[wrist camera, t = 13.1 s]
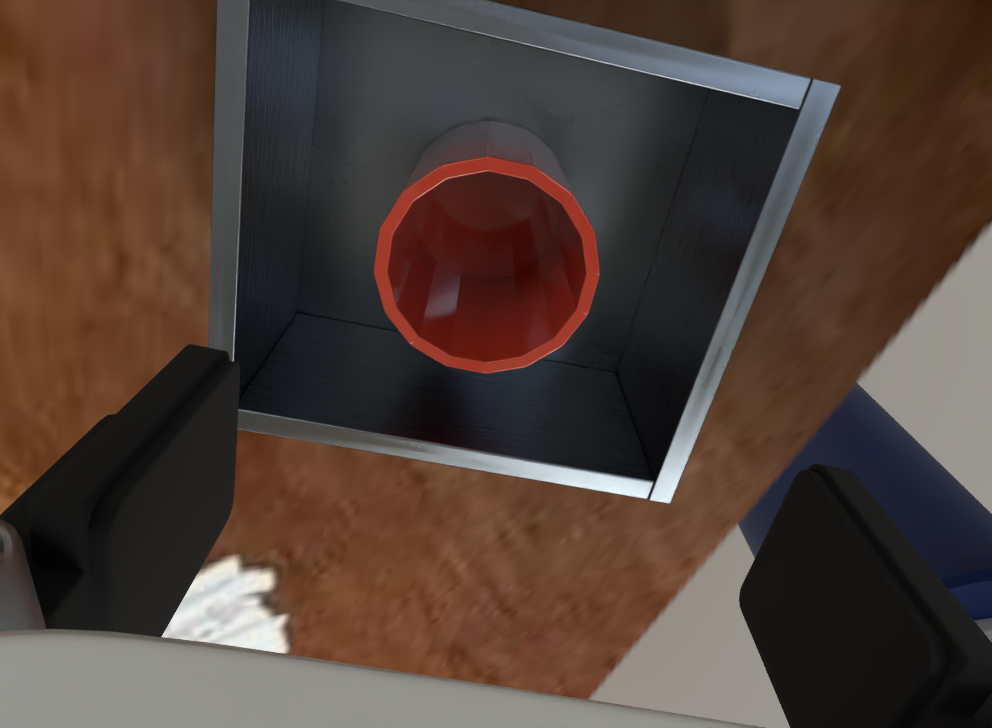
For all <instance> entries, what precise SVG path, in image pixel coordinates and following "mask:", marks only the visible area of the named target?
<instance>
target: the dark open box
mask: <svg viewBox="0 0 992 728" xmlns="http://www.w3.org/2000/svg"><path fill="white" fill-rule="evenodd" d="M840 88H841V85H840V84H836V83H832V82H828V81H824V80H819V79H815V78H810V77H807V76H803V75H799V74H795V73H790V72H786V71H782V70H778V69H774V68H770V67H766V66H762V65H757V64H753V63H749V62H745V61H741V60H737V59H733V58H728V57H724V56H720V55H716V54H712V53H708V52H704V51H700V50H695V49H691V48H687V47H683V46H679V45H675V44H671V43H667V42H662V41H658V40H654V39H650V38H646V37H642V36H638V35H634V34H629V33H625V32H621V31H617V30H613V29H609V28H605V27H601V26H596V25H592V24H588V23H584V22H580V21H576V20H572V19H568V18H563V17H559V16H555V15H551V14H547V13H543V12H539V11H535V10H530V9H526V8H522V7H518V6H514V5H510V4H506V3H502V2H497V1H493V0H217V23H216V63H215V103H214V143H213V182H212V222H211V262H210V302H209V342H208V348H213V349H218V350H223V351H227V352H228V354H229V357H230V361H233V362H238V363H239V365H240V388H239V407H238V426H237V429H240V430H245V431H251V432H257V433H263V434H269V435H275V436H280V437H286V438H292V439H298V440H304V441H310V442H315V443H321V444H327V445H333V446H339V447H345V448H350V449H356V450H362V451H368V452H374V453H380V454H385V455H391V456H397V457H403V458H409V459H415V460H420V461H426V462H432V463H438V464H444V465H450V466H455V467H461V468H467V469H473V470H479V471H485V472H490V473H496V474H502V475H508V476H514V477H520V478H525V479H531V480H537V481H543V482H549V483H555V484H560V485H566V486H572V487H578V488H584V489H590V490H595V491H601V492H607V493H613V494H619V495H625V496H630V497H636V498H642V499H649V500H651V501H657V502H663V503H669V504H670V503H671V501H672V498H673V496H674V493H675V491H676V489H677V486H678V484H679V481H680V479H681V476H682V474H683V472H684V469H685V467H686V464H687V462H688V459H689V457H690V454H691V452H692V450H693V447H694V445H695V442H696V440H697V437H698V435H699V432H700V430H701V428H702V425H703V423H704V420H705V418H706V415H707V413H708V410H709V408H710V406H711V403H712V401H713V398H714V396H715V393H716V391H717V389H718V386H719V384H720V381H721V379H722V376H723V374H724V371H725V369H726V367H727V364H728V362H729V359H730V357H731V354H732V352H733V349H734V347H735V345H736V342H737V340H738V337H739V335H740V332H741V330H742V327H743V325H744V323H745V320H746V318H747V315H748V313H749V310H750V308H751V306H752V303H753V301H754V298H755V296H756V293H757V291H758V288H759V286H760V284H761V281H762V279H763V276H764V274H765V271H766V269H767V266H768V264H769V262H770V259H771V257H772V254H773V252H774V249H775V247H776V244H777V242H778V240H779V237H780V235H781V232H782V230H783V227H784V225H785V222H786V220H787V218H788V215H789V213H790V210H791V208H792V205H793V203H794V201H795V198H796V196H797V193H798V191H799V188H800V186H801V183H802V181H803V179H804V176H805V174H806V171H807V169H808V166H809V164H810V161H811V159H812V157H813V154H814V152H815V149H816V147H817V144H818V142H819V139H820V137H821V135H822V132H823V130H824V127H825V125H826V122H827V120H828V118H829V115H830V113H831V110H832V108H833V105H834V103H835V100H836V98H837V96H838V93H839V91H840ZM480 121H496V122H503V123H508V124H511V125H514V126H517V127H519V128H522V129H524V130H526V131H528V132H529V133H531V134H533V135H534V136H536V137H537V138H538V139H539V140H541V141H542V142H543V143H544V144H545V145H546V146H547V147H549V148H550V149H551V150H552V152H553V153H554V155H555V157H556V159H557V160H558V162H559V163H560V165H561V167H562V169H563V170H564V172H565V174H566V175H567V177H568V179H569V181H570V183H571V185H572V187H573V189H574V191H575V193H576V195H577V197H578V199H579V201H580V203H581V205H582V207H583V209H584V211H585V213H586V215H587V216H588V218H589V220H590V222H591V224H592V226H593V228H594V231H595V234H596V242H597V250H598V259H599V267H600V277H599V280H598V284H597V287H596V290H595V294H594V297H593V301H592V304H591V307H590V311H589V313H588V315H587V317H586V318H585V319H584V320H583V322H582V323H581V324H580V325H579V327H578V328H577V329H576V330H575V331H574V333H573V334H572V335H571V336H570V338H569V339H568V340H567V341H566V343H565V344H564V345H563V346H562V347H560V348H559V349H557V350H555V351H554V352H552V353H550V354H548V355H547V356H545V357H543V358H541V359H540V360H538V361H536V362H534V363H533V364H531V365H529V366H526V367H523V368H517V369H511V370H505V371H499V372H493V373H480V372H475V371H469V370H464V369H458V368H453V367H448V366H445V365H443V364H441V363H440V362H438V361H436V360H435V359H433V358H431V357H430V356H428V355H426V354H425V353H423V352H421V351H420V350H418V349H416V348H415V347H413V346H411V344H409V343H408V341H407V340H406V339H405V338H404V336H403V335H402V334H401V332H400V331H399V330H398V329H397V327H396V326H395V325H394V323H393V322H392V321H391V320H390V318H389V317H388V316H387V314H386V313H385V311H384V308H383V305H382V301H381V297H380V294H379V290H378V287H377V283H376V279H375V276H374V263H375V256H376V248H377V241H378V234H379V230H380V227H381V225H382V223H383V221H384V219H385V218H386V216H387V214H388V212H389V210H390V209H391V207H392V205H393V203H394V201H395V200H396V198H397V196H398V194H399V192H400V190H401V189H402V187H403V185H404V183H405V181H406V180H407V178H408V176H409V174H410V173H411V171H412V170H413V168H414V166H415V165H416V163H417V161H418V160H419V158H420V157H421V155H422V153H423V152H424V150H425V149H426V148H427V147H428V146H429V145H431V144H432V143H433V142H434V141H435V140H436V139H438V138H439V137H440V136H441V135H443V134H445V133H446V132H448V131H450V130H452V129H454V128H456V127H459V126H461V125H465V124H468V123H472V122H480Z"/></svg>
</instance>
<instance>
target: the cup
mask: <svg viewBox="0 0 992 728" xmlns="http://www.w3.org/2000/svg"><path fill="white" fill-rule="evenodd" d="M374 276H375V279H376V283H377V287H378V290H379V294H380V297H381V301H382V305H383V308H384V311H385V313H386V314H387V316H388V317H389V318H390V320H391V321H392V322H393V323H394V325H395V326H396V327H397V329H398V330H399V331H400V332H401V334H402V335H403V336H404V338H405V339H406V340H407V341H408V343H409V344H411V346H413V347H415V348H416V349H418V350H420V351H421V352H423V353H425V354H426V355H428V356H430V357H431V358H433V359H435V360H436V361H438V362H440V363H441V364H443V365H445V366H448V367H453V368H458V369H464V370H469V371H475V372H480V373H493V372H499V371H505V370H511V369H517V368H523V367H526V366H529V365H531V364H533V363H534V362H536V361H538V360H540V359H541V358H543V357H545V356H547V355H548V354H550V353H552V352H554V351H555V350H557V349H559V348H560V347H562V346H563V345H564V344H565V343H566V341H567V340H568V339H569V338H570V336H571V335H572V334H573V333H574V331H575V330H576V329H577V328H578V327H579V325H580V324H581V323H582V322H583V320H584V319H585V318H586V317H587V315H588V313H589V311H590V307H591V304H592V301H593V297H594V294H595V290H596V287H597V284H598V280H599V277H600V267H599V259H598V250H597V242H596V234H595V231H594V228H593V226H592V224H591V222H590V220H589V218H588V216H587V215H586V213H585V211H584V209H583V207H582V205H581V203H580V201H579V199H578V197H577V195H576V193H575V191H574V189H573V187H572V185H571V183H570V181H569V179H568V177H567V175H566V174H565V172H564V170H563V169H562V167H561V165H560V163H559V162H558V160H557V159H556V157H555V155H554V153H553V152H552V150H551V149H550V148H549V147H547V146H546V145H545V144H544V143H543V142H542V141H541V140H539V139H538V138H537V137H536V136H534V135H533V134H531V133H529V132H528V131H526V130H524V129H522V128H519V127H517V126H514V125H511V124H508V123H503V122H496V121H480V122H472V123H468V124H465V125H461V126H459V127H456V128H454V129H452V130H450V131H448V132H446V133H445V134H443V135H441V136H440V137H439V138H438V139H436V140H435V141H434V142H433V143H432V144H431V145H429V146H428V147H427V148H426V149H425V150H424V152H423V153H422V155H421V157H420V158H419V160H418V161H417V163H416V165H415V166H414V168H413V170H412V171H411V173H410V174H409V176H408V178H407V180H406V181H405V183H404V185H403V187H402V189H401V190H400V192H399V194H398V196H397V198H396V200H395V201H394V203H393V205H392V207H391V209H390V210H389V212H388V214H387V216H386V218H385V219H384V221H383V223H382V225H381V227H380V230H379V234H378V241H377V248H376V256H375V263H374Z"/></svg>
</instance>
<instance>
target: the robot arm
mask: <svg viewBox="0 0 992 728" xmlns="http://www.w3.org/2000/svg"><path fill="white" fill-rule="evenodd" d="M239 388H240V365H239V363H238V362H233V361H230V357H229V354H228V352H227V351H223V350H218V349H213V348H207V347H202V346H197V345H191V344H189V345H188V346H186V347H185V348H184V349H183V350H182V351H181V352H180V353H179V354H178V355H177V356H176V357H175V358H174V359H172V360H171V361H170V362H169V363H168V364H167V365H166V366H165V367H164V368H163V369H162V370H161V371H160V372H159V373H158V374H157V375H156V376H155V377H154V378H153V379H152V380H151V381H150V382H149V383H148V384H147V385H146V386H145V387H144V388H143V389H142V390H140V391H139V392H138V393H137V394H136V395H135V396H134V397H133V398H132V399H131V400H130V401H129V402H128V403H127V404H126V405H125V406H124V407H123V408H122V409H121V410H120V411H119V412H118V413H117V414H112V415H107V416H106V417H104V418H103V419H102V420H100V421H99V422H98V423H97V424H96V425H95V426H94V427H93V428H92V429H91V430H90V431H89V432H88V433H87V434H85V435H84V436H83V437H82V438H81V439H80V440H79V441H78V442H77V443H76V444H75V445H74V446H73V447H72V448H71V449H70V450H69V451H67V452H66V453H65V454H64V455H63V456H62V457H61V458H60V459H59V460H58V461H57V462H56V463H55V464H54V465H53V466H52V467H51V468H50V469H48V470H47V471H46V472H45V473H44V474H43V475H42V476H41V477H40V478H39V479H38V480H37V481H36V482H35V483H34V484H33V485H32V486H31V487H29V488H28V489H27V490H26V491H25V492H24V493H23V494H22V495H21V496H20V497H19V498H18V499H17V500H16V501H15V502H14V503H13V504H12V505H10V506H9V507H8V508H7V509H6V510H5V511H4V512H3V513H2V514H1V515H0V728H763V727H758V726H751V725H745V724H739V723H733V722H726V721H721V720H714V719H708V718H702V717H696V716H689V715H682V714H676V713H670V712H663V711H656V710H651V709H644V708H637V707H632V706H625V705H619V704H612V703H606V702H600V701H592V700H587V699H580V698H574V697H567V696H561V695H554V694H548V693H541V692H535V691H528V690H522V689H516V688H509V687H503V686H496V685H490V684H483V683H476V682H470V681H463V680H456V679H450V678H443V677H436V676H429V675H423V674H416V673H409V672H403V671H396V670H389V669H383V668H376V667H369V666H362V665H356V664H349V663H342V662H336V661H329V660H322V659H316V658H309V657H302V656H295V655H289V654H282V653H275V652H269V651H262V650H255V649H249V648H242V647H235V646H228V645H222V644H215V643H207V642H198V641H189V640H181V639H172V638H163V637H161V636H162V635H163V633H164V631H165V629H166V628H167V626H168V624H169V622H170V621H171V619H172V617H173V615H174V614H175V612H176V610H177V608H178V607H179V605H180V603H181V601H182V600H183V598H184V596H185V594H186V593H187V591H188V589H189V587H190V586H191V584H192V582H193V580H194V579H195V577H196V575H197V573H198V572H199V570H200V568H201V566H202V565H203V563H204V561H205V559H206V558H207V556H208V554H209V552H210V551H211V549H212V547H213V545H214V544H215V542H216V540H217V538H218V537H219V535H220V533H221V531H222V530H223V528H224V526H225V524H226V523H227V521H228V518H229V516H230V513H231V509H232V505H233V499H234V482H235V463H236V444H237V426H238V407H239ZM739 602H740V608H741V611H742V613H743V616H744V618H745V620H746V623H747V625H748V628H749V630H750V632H751V635H752V637H753V640H754V642H755V644H756V647H757V649H758V652H759V654H760V656H761V659H762V661H763V663H764V666H765V668H766V671H767V673H768V675H769V678H770V680H771V683H772V685H773V687H774V690H775V692H776V694H777V697H778V699H779V702H780V704H781V706H782V709H783V711H784V714H785V716H786V718H787V721H788V723H789V726H790V728H992V618H985V619H977V620H973V619H972V618H971V617H970V615H969V614H968V613H967V612H966V610H965V609H964V608H963V607H962V606H961V604H960V603H959V602H958V601H957V599H956V598H955V597H954V596H953V594H952V593H951V592H950V591H949V590H948V588H947V587H946V586H945V585H944V583H943V582H942V581H941V580H940V578H939V577H938V576H937V575H936V574H935V572H934V571H933V570H932V569H931V567H930V566H929V565H928V564H927V562H926V561H925V560H924V559H923V557H922V556H921V555H920V554H919V553H918V551H917V550H916V549H915V548H914V546H913V545H912V544H911V543H910V541H909V540H908V539H907V538H906V537H905V535H904V534H903V533H902V532H901V530H900V529H899V528H898V527H897V525H896V524H895V523H894V522H893V521H892V519H891V518H890V517H889V516H888V514H887V513H886V512H885V511H884V509H883V508H882V507H881V506H880V505H879V503H878V502H877V501H876V500H875V498H874V497H873V496H872V495H871V493H870V492H869V491H868V490H867V488H866V487H865V486H864V485H863V484H862V482H861V481H860V480H859V479H858V477H857V476H856V475H855V474H854V473H853V472H852V471H851V470H846V469H841V468H836V467H831V466H826V465H820V464H814V465H811V466H810V467H809V468H808V469H807V470H802V471H800V472H799V473H798V474H797V475H796V477H795V479H794V481H793V483H792V485H791V487H790V489H789V491H788V493H787V495H786V497H785V499H784V501H783V503H782V505H781V507H780V509H779V511H778V513H777V515H776V517H775V519H774V521H773V523H772V525H771V527H770V529H769V532H768V534H767V536H766V538H765V540H764V542H763V544H762V546H761V548H760V550H759V552H758V554H757V556H756V558H755V560H754V562H753V564H752V566H751V568H750V570H749V572H748V574H747V576H746V578H745V580H744V582H743V585H742V587H741V590H740V597H739Z"/></svg>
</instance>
